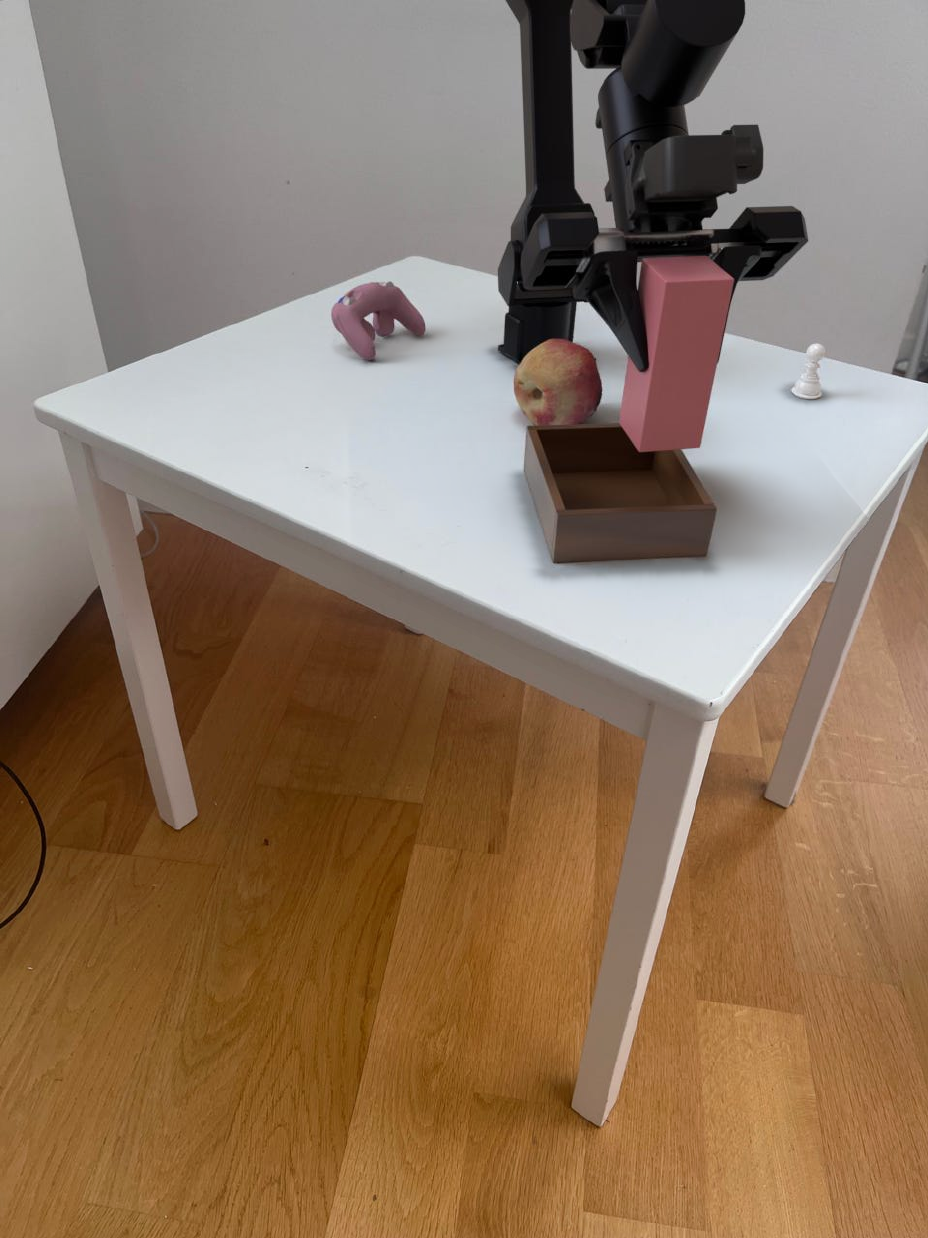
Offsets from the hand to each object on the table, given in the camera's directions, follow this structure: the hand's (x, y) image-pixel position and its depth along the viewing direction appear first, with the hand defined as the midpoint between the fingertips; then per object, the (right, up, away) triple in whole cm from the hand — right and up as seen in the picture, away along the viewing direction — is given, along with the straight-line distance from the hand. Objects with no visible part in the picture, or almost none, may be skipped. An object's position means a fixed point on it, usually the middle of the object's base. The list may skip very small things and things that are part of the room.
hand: (678, 367), depth 64 cm
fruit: (-6, 0, +22) cm, 23 cm away
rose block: (0, -4, +5) cm, 6 cm away
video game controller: (-24, +12, +36) cm, 45 cm away
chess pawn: (+19, +5, +29) cm, 35 cm away
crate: (-3, -9, +10) cm, 14 cm away
